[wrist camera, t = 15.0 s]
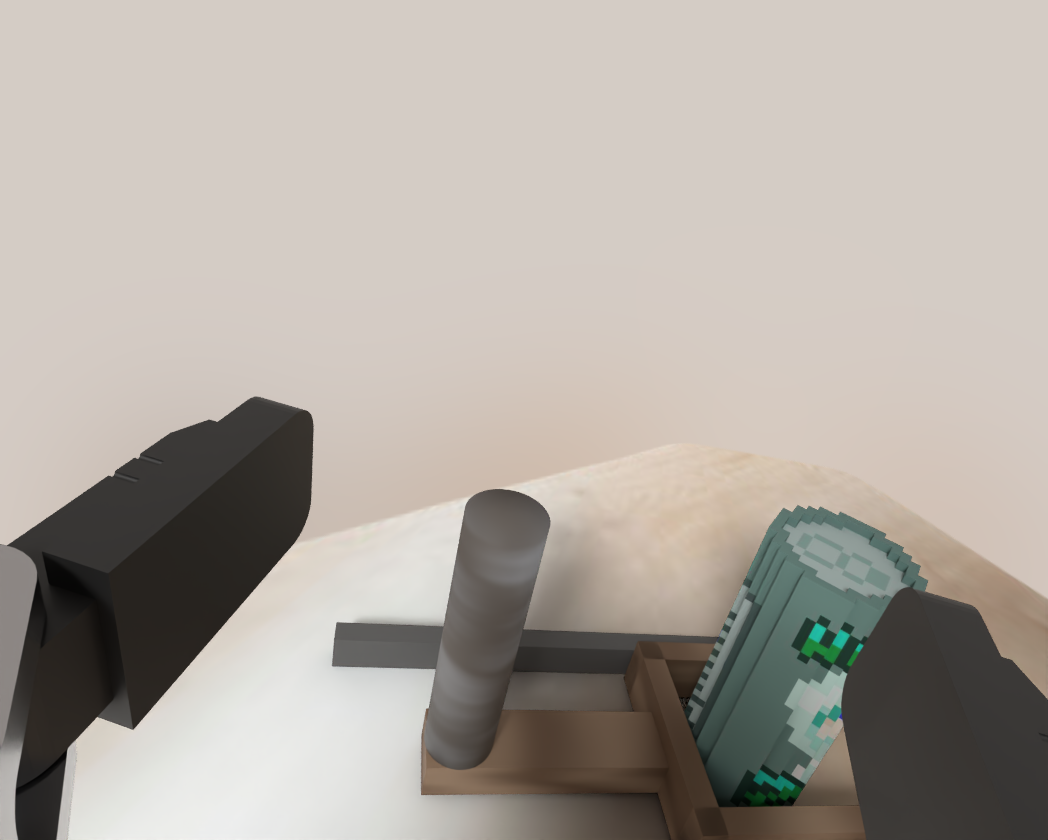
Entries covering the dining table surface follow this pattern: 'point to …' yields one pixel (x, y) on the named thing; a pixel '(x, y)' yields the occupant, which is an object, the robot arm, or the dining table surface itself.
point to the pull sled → (573, 736)
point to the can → (791, 653)
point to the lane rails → (534, 654)
